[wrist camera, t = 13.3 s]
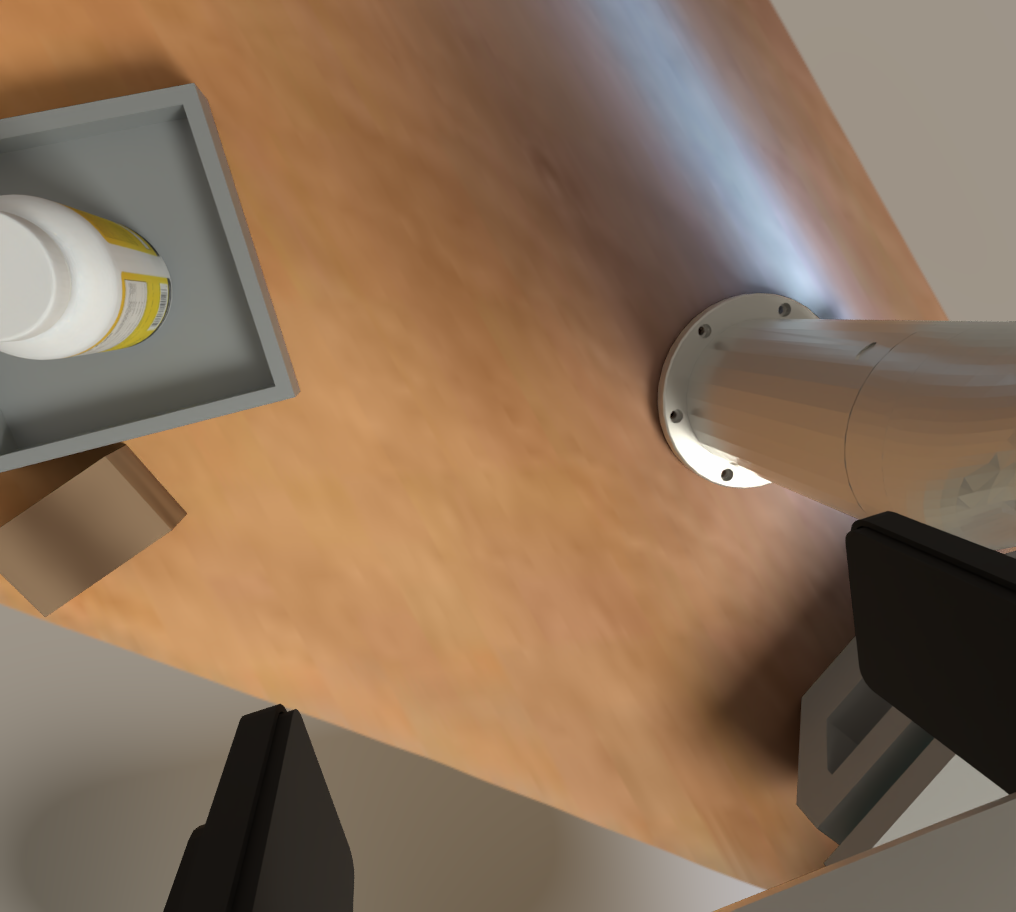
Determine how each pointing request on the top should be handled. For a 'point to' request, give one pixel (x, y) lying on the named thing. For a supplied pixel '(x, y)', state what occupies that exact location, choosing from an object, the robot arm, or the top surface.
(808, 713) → the sharpening stone
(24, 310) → the pill bottle
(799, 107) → the top surface
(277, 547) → the top surface
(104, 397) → the tray
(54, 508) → the walnut block
